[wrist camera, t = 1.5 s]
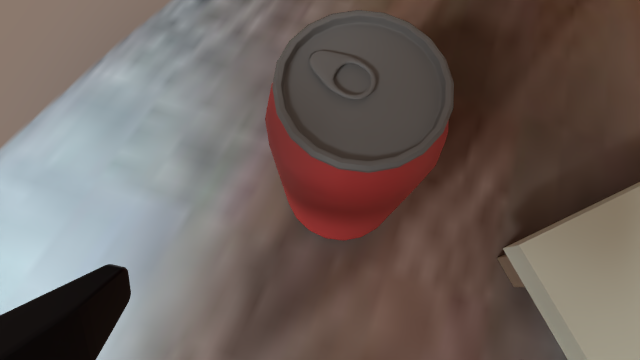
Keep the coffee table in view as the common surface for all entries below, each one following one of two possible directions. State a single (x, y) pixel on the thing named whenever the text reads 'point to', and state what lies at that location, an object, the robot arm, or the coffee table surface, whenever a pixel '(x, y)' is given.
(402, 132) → the beer can
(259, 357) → the coffee table surface
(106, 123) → the coffee table surface
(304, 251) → the coffee table surface
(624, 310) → the white square platform
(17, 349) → the robot arm
